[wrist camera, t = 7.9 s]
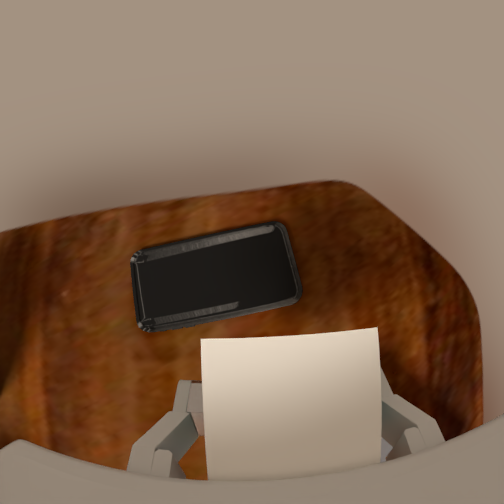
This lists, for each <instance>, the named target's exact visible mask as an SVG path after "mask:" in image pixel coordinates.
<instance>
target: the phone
mask: <svg viewBox="0 0 504 504" xmlns="http://www.w3.org/2000/svg"><path fill="white" fill-rule="evenodd" d="M130 265H131V277H132V287H133V296H134V305H135V313H136V321H137V324H138V326H139V327H140V328H141V329H142V330H143V331H146V332H157V331H167V330H169V329H172V330H174V329H180V328H183V327H186V328H187V327H192V326H195V325H197V324H203V323H208V322H213V321H218V320H223V319H228V318H233V317H238V316H243V315H248V314H252V313H257V312H261V311H266V310H270V309H275V308H279V307H284V306H288V305H292V304H294V303H296V302H297V301H298V300H299V299H300V297H301V296H302V292H303V290H302V285H301V281H300V277H299V273H298V269H297V266H296V262H295V258H294V254H293V251H292V247H291V243H290V240H289V236H288V233H287V230H286V227H285V226H284V225H283V224H282V223H280V222H276V221H272V222H267V223H262V224H257V225H252V226H247V227H242V228H238V229H233V230H228V231H224V232H219V233H214V234H210V235H205V236H200V237H196V238H191V239H187V240H182V241H178V242H173V243H169V244H165V245H160V246H156V247H151V248H147V249H143V250H139V251H137V252H136V253H134V255H133V256H132V258H131V263H130Z"/></svg>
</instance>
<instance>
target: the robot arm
mask: <svg viewBox="0 0 504 504" xmlns="http://www.w3.org/2000/svg"><path fill="white" fill-rule="evenodd" d="M380 371H381V402H382V429H381V437H382V438H383V439H385V440H386V441H387V442H388V443H389V444H390V445H391V446H392V447H393V448H392V450H391V451H390V452H389V454H388V455H387V456H386V458H385V459H386V461H385V462H382V463H378V464H374V465H370V466H365V467H361V468H356V469H352V470H347V471H341V472H336V473H330V474H324V475H317V476H310V477H301V478H292V479H281V480H265V481H206V480H190V479H186V475H185V474H184V472H183V471H182V469H181V467H180V466H179V464H178V462H179V460H180V459H181V458H182V457H183V455H184V454H185V453H186V452H187V450H188V449H189V448H190V447H191V446H192V444H193V443H194V442H195V440H196V439H197V438H198V436H205V431H204V414H203V393H202V381H195V380H180V381H179V382H178V386H177V391H176V396H175V401H174V406H173V412H172V411H169V412H168V413H167V414H166V415H165V416H164V417H163V418H161V419H160V420H159V421H158V422H157V423H156V424H155V425H154V426H153V427H152V428H151V429H150V430H149V431H147V432H146V433H145V434H144V435H143V436H142V437H141V438H140V439H139V440H138V441H136V442H135V443H134V444H133V446H132V450H131V454H130V458H129V462H128V467H127V471H125V470H120V469H115V468H111V467H106V466H102V465H98V464H94V463H90V462H87V461H83V460H80V459H76V458H73V457H70V456H67V455H63V454H60V453H57V452H55V451H52V450H49V449H46V448H43V447H41V446H38V445H36V444H33V443H31V442H28V441H26V440H22V439H20V440H17V441H14V442H12V443H10V444H9V445H7V446H5V447H3V448H2V449H0V504H504V414H502V415H500V416H499V417H497V418H495V419H493V420H491V421H489V422H487V423H485V424H483V425H481V426H479V427H477V428H475V429H473V430H471V431H469V432H466V433H464V434H462V435H460V436H457V437H455V438H453V439H450V440H448V441H445V440H444V437H443V435H442V433H441V431H440V429H439V427H438V424H437V422H436V420H435V419H434V418H432V417H431V416H429V415H427V414H426V413H424V412H423V411H421V410H420V409H418V408H417V407H415V406H414V405H412V404H411V403H409V402H408V401H406V400H405V399H403V398H402V397H400V396H399V395H397V394H395V395H393V392H392V390H391V388H390V386H389V383H388V381H387V379H386V377H385V375H384V373H383V370H382V368H381V367H380Z"/></svg>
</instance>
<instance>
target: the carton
mask: <svg viewBox="0 0 504 504" xmlns="http://www.w3.org/2000/svg"><path fill="white" fill-rule="evenodd" d="M201 365H202V393H203V414H204V431H205V446H206V460H207V472H208V481H265V480H281V479H292V478H301V477H310V476H317V475H324V474H330V473H336V472H341V471H347V470H352V469H356V468H361V467H365V466H370V465H374V464H378V463H380V459H381V429H382V402H381V371H380V354H379V340H378V329H377V327H376V328H368V329H360V330H351V331H342V332H332V333H321V334H309V335H295V336H279V337H259V338H229V339H201Z"/></svg>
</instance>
